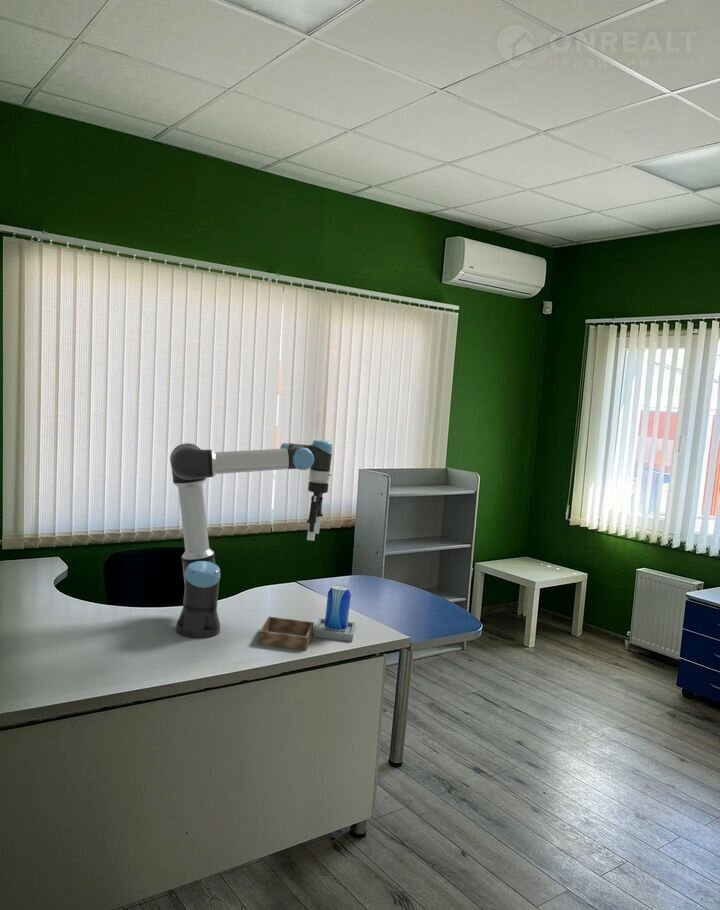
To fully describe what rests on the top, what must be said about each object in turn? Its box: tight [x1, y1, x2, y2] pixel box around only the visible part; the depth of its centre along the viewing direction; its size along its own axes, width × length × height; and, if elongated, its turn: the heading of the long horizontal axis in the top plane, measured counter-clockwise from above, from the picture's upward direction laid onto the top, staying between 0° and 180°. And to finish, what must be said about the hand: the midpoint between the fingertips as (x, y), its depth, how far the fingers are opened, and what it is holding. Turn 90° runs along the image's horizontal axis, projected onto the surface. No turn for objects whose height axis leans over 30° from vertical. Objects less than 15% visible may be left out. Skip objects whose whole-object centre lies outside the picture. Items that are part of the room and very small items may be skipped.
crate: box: [258, 616, 315, 651], centre depth 254 cm, size 17×17×4 cm
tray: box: [313, 617, 357, 643], centre depth 266 cm, size 14×14×2 cm
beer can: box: [324, 584, 352, 632], centre depth 265 cm, size 8×8×16 cm
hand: (313, 536), depth 273 cm, fingers open, 13 cm apart
